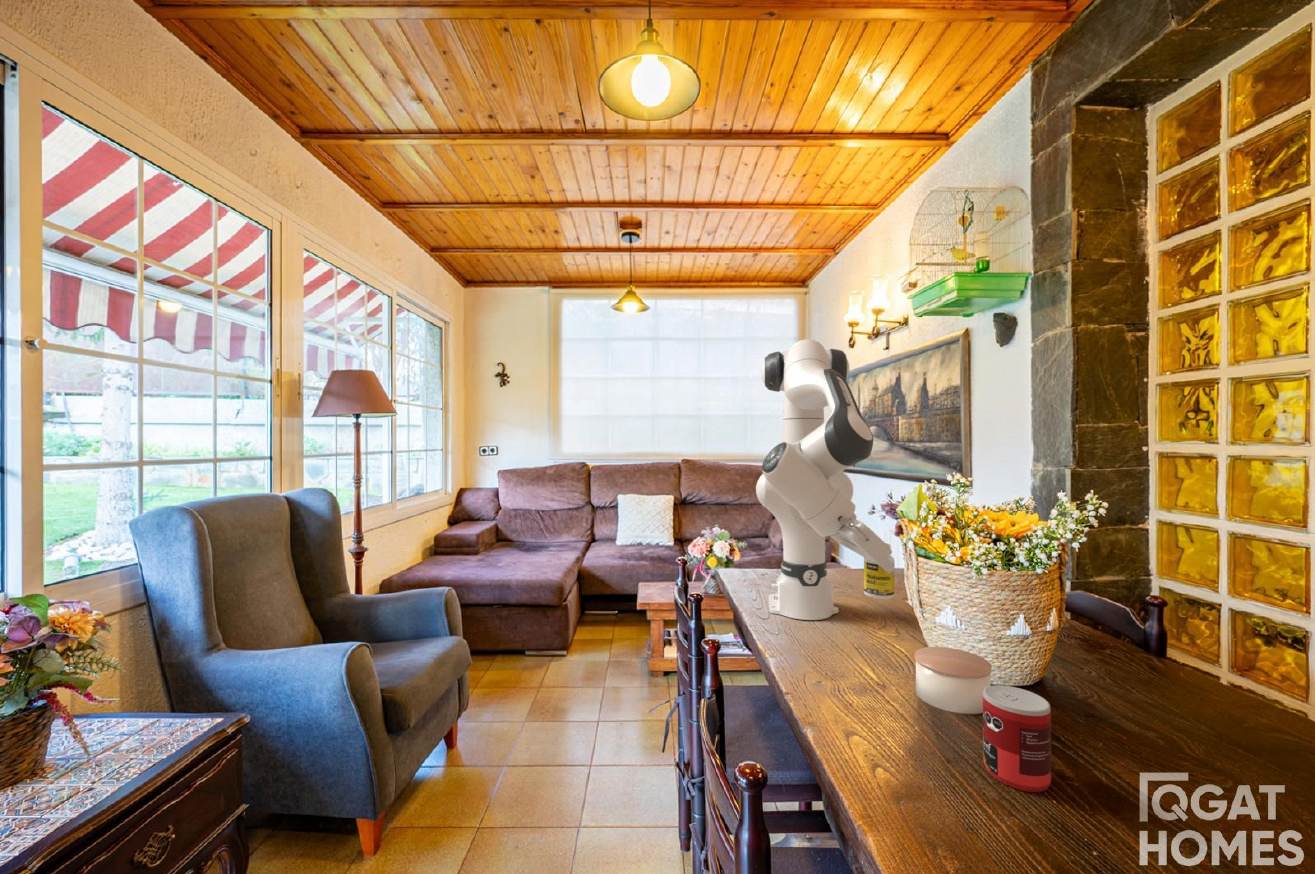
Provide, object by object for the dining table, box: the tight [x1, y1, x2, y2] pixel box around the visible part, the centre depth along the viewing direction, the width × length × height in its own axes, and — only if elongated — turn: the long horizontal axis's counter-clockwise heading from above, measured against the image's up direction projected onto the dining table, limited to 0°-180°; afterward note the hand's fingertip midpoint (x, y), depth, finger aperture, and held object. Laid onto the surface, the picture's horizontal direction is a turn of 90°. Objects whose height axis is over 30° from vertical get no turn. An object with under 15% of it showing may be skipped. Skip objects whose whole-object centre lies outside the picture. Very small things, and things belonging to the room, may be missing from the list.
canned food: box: [982, 684, 1052, 793], centre depth 76 cm, size 8×8×11 cm
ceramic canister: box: [914, 646, 993, 715], centre depth 99 cm, size 12×12×7 cm
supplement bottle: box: [863, 542, 895, 600], centre depth 102 cm, size 5×5×10 cm
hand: (882, 565), depth 102 cm, fingers closed on supplement bottle, 5 cm apart
